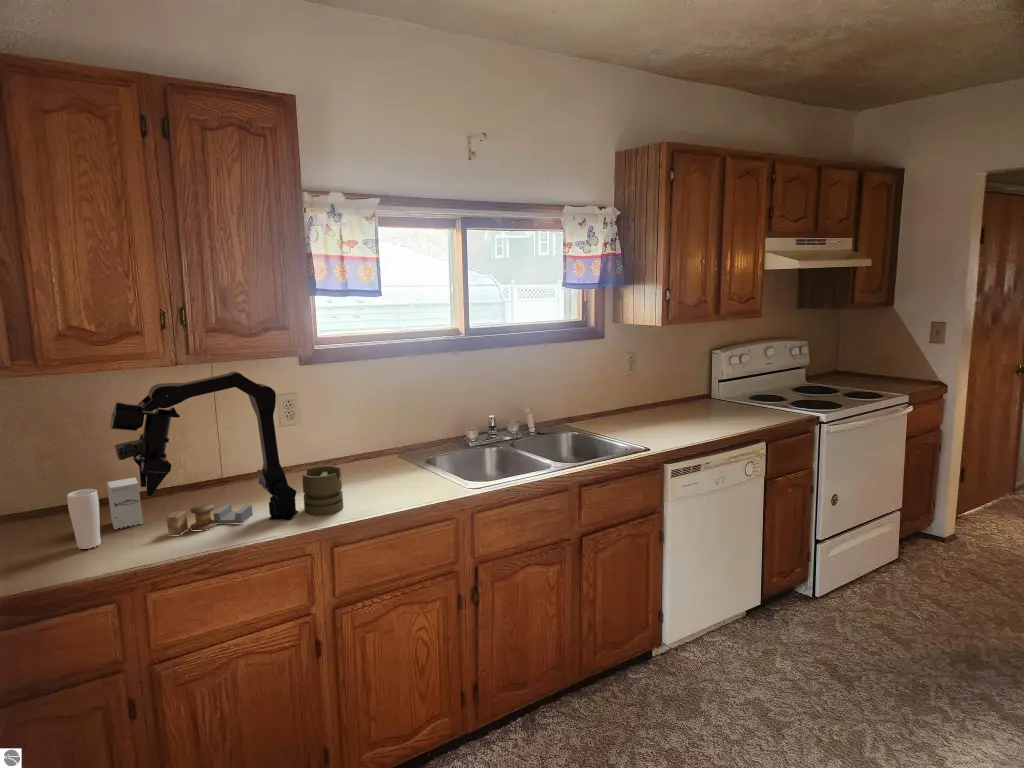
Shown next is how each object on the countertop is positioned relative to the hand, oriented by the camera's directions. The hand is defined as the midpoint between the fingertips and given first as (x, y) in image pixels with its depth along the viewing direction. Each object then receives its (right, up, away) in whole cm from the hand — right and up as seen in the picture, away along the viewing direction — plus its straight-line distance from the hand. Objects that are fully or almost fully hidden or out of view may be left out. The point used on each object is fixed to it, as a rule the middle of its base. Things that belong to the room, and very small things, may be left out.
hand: (145, 491), depth 171 cm
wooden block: (+2, -14, +12) cm, 18 cm away
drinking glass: (-17, -16, +4) cm, 23 cm away
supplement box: (-16, -13, +20) cm, 29 cm away
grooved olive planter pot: (+38, -10, +28) cm, 49 cm away
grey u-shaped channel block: (+14, -12, +21) cm, 28 cm away
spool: (+8, -13, +16) cm, 22 cm away
